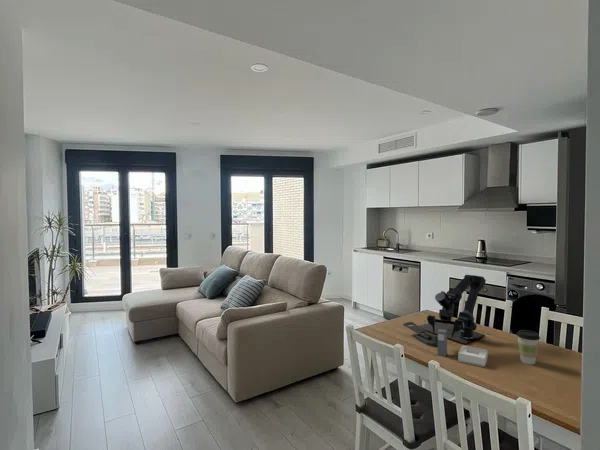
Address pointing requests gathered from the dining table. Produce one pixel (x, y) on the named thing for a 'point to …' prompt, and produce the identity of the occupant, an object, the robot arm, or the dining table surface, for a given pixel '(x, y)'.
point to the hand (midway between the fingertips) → (442, 335)
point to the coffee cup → (528, 346)
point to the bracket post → (442, 342)
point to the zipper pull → (423, 335)
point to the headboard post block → (473, 355)
